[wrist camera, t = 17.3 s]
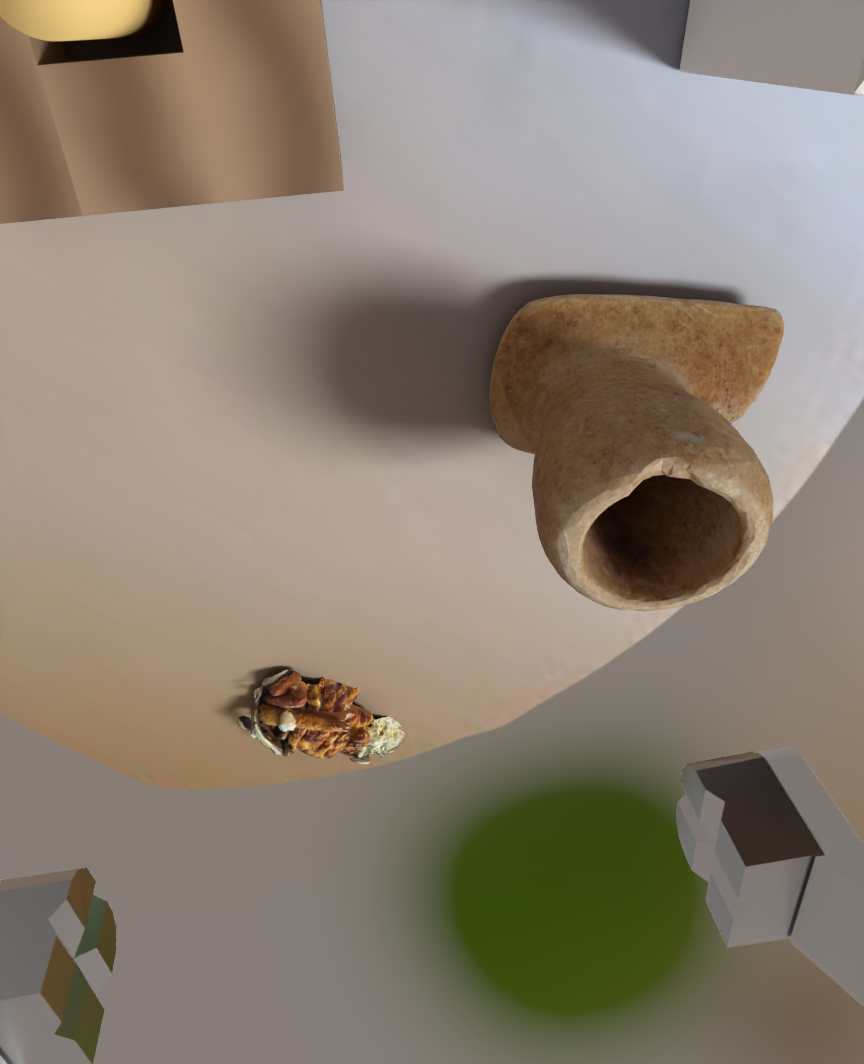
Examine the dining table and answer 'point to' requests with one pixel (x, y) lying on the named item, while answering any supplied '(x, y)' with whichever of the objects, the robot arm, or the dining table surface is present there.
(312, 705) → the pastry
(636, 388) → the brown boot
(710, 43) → the milk carton
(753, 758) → the robot arm
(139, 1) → the pin
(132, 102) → the bore block
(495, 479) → the dining table surface
